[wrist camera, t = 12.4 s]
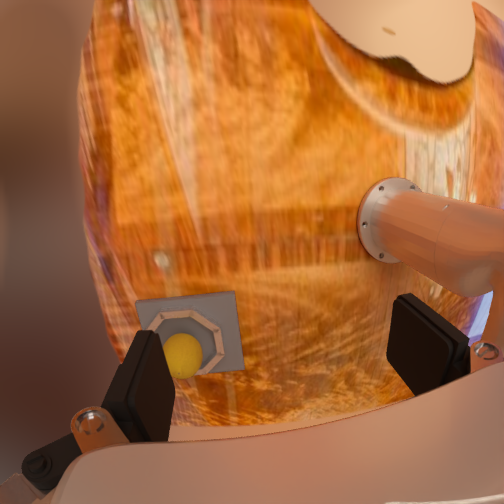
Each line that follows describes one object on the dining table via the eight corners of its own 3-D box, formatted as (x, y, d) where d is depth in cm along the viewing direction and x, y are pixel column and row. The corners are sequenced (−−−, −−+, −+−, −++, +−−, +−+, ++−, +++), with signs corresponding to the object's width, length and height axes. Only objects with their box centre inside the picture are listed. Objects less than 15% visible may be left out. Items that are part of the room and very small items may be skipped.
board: (234, 290, 40) (234, 293, 39) (244, 365, 44) (244, 369, 43) (136, 300, 40) (135, 303, 39) (158, 372, 43) (157, 376, 42)
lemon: (201, 357, 42) (198, 393, 34) (165, 351, 41) (155, 385, 33) (206, 326, 40) (203, 360, 33) (167, 320, 40) (157, 352, 32)
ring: (217, 302, 40) (216, 307, 38) (227, 366, 43) (228, 372, 41) (139, 309, 39) (137, 314, 37) (158, 371, 42) (156, 377, 40)
